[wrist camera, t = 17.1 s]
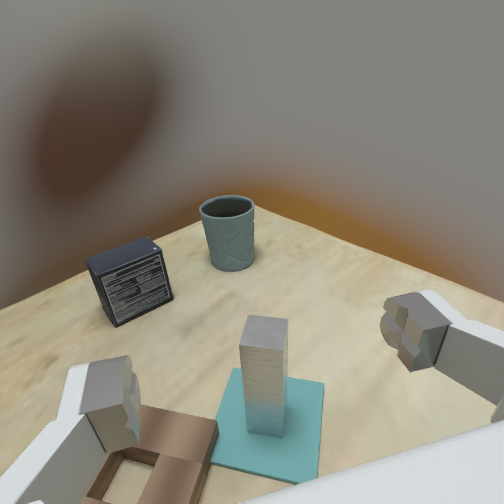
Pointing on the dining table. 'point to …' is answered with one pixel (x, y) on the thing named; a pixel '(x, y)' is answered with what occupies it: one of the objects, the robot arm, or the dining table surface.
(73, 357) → the dining table surface
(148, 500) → the socket block
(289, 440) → the mat
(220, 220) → the grey-green cup
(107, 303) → the small box
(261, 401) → the metal bar
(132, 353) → the dining table surface
